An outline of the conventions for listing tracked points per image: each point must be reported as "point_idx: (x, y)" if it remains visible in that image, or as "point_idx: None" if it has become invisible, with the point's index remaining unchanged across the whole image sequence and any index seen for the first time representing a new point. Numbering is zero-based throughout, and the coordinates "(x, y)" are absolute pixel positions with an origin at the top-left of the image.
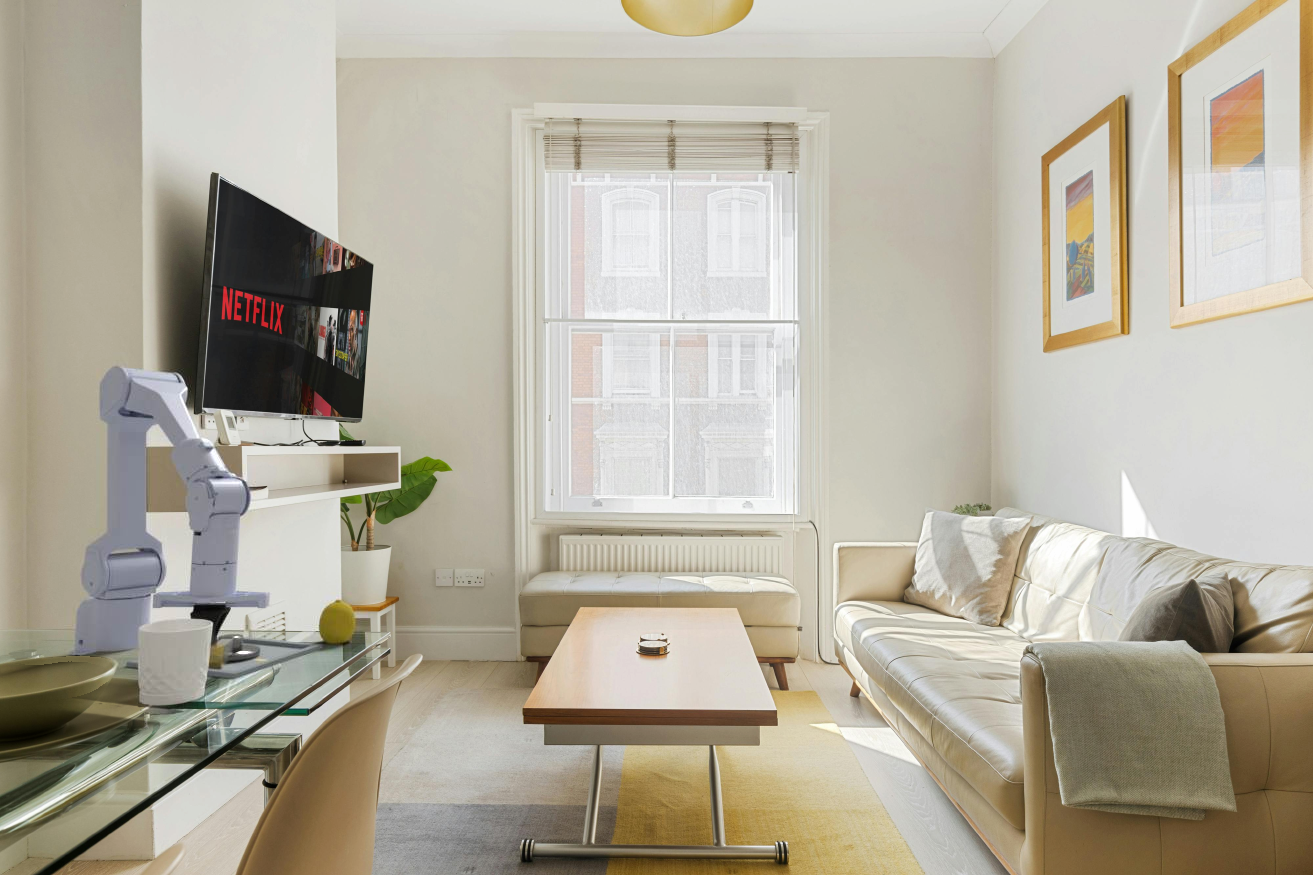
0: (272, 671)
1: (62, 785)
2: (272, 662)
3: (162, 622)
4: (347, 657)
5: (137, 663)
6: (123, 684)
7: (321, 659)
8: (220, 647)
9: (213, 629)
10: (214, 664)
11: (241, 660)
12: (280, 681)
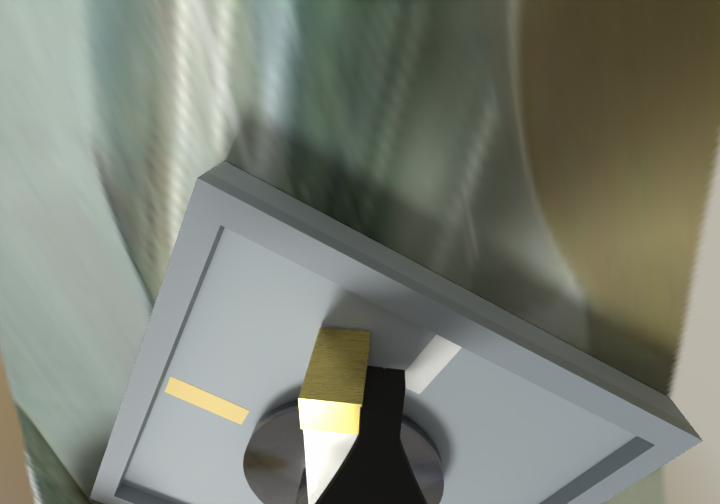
0: None
1: None
2: (142, 345)
3: None
4: (34, 439)
5: (657, 415)
6: (676, 281)
7: (97, 435)
8: (308, 395)
9: (325, 489)
10: (344, 340)
11: None
12: (87, 217)
